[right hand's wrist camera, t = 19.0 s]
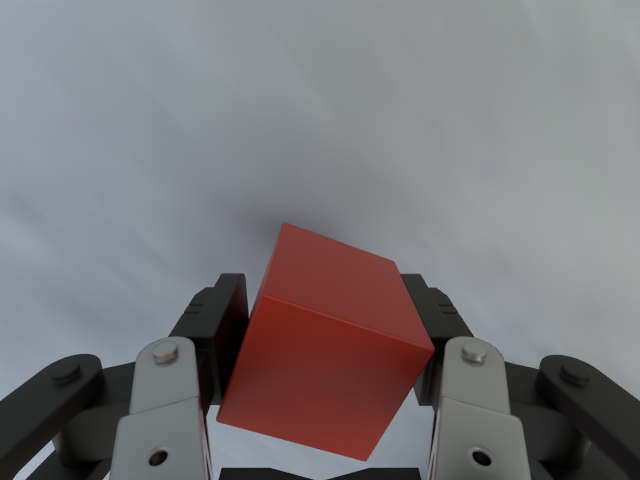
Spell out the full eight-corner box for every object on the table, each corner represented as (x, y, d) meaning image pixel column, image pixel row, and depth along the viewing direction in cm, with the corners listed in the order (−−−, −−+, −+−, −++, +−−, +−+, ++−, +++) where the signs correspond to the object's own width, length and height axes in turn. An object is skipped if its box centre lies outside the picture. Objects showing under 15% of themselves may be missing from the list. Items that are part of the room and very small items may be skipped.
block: (283, 221, 12) (261, 293, 7) (394, 260, 12) (437, 350, 8) (250, 314, 13) (214, 423, 9) (351, 346, 14) (366, 463, 9)
